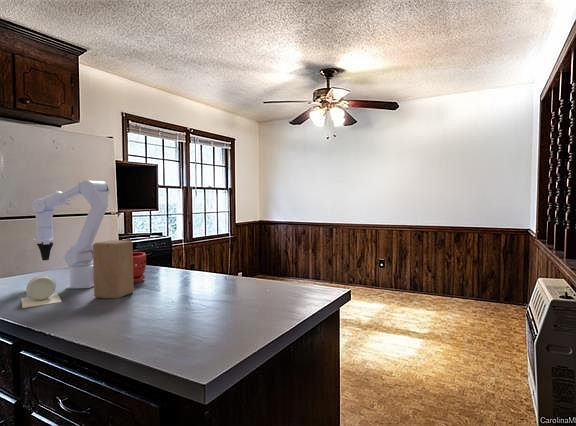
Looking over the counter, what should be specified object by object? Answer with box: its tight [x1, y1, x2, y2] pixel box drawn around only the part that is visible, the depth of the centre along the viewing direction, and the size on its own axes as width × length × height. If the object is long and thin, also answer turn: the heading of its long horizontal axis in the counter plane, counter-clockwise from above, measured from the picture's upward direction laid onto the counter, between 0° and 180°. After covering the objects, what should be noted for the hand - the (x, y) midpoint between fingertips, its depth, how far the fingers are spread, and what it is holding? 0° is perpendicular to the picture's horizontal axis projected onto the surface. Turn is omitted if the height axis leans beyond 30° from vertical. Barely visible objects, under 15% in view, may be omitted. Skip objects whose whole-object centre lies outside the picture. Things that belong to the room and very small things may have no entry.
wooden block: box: [92, 239, 135, 300], centre depth 136 cm, size 10×10×20 cm
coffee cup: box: [26, 275, 56, 300], centre depth 132 cm, size 8×9×12 cm
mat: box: [20, 293, 63, 309], centre depth 129 cm, size 14×11×1 cm
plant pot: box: [133, 251, 147, 284], centre depth 159 cm, size 13×13×12 cm
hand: (45, 260), depth 153 cm, fingers closed
